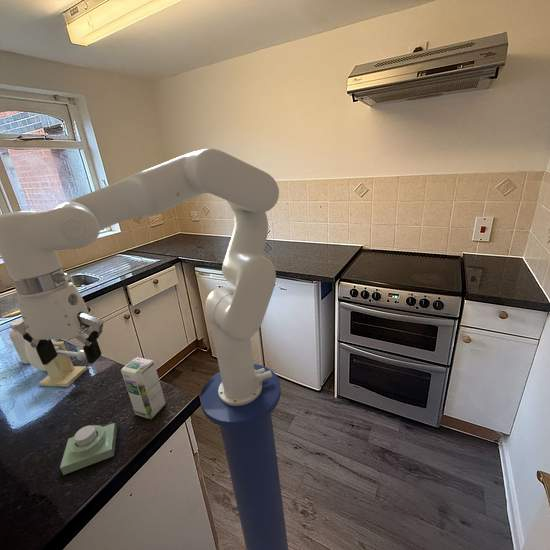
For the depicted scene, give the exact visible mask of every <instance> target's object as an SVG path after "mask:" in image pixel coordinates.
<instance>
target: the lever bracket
mask: <svg viewBox="0 0 550 550" xmlns="http://www.w3.org/2000/svg"><path fill="white" fill-rule="evenodd" d="M52 343H53V345H54V346H58V347H59V348H60V350H65V351H68V349H67V346H66V345H65V342H64V341H53V342H52ZM44 366H45V368H46V370H47V371H46V372H47V375H46V376H45V377H44V378H43V379H41V380H40V381H39V382H38V384H39V386H41V387H63V388H64V387H68V388H69V387H70V386H71V385H73V383H74V382H75V381H76V380H77V379H78V378H80V377H81V375H83V374H84V373H85V372H86V371H87V370H88V368H87V366H82V365H81V366H79V365H78V366H77V365H76V366H75V365H74V363H73V361H72V359H71V356H66V355H57V357H55V358H54V359H53V360H52V361H51V362H49V363H48V364H47V365H44Z"/></svg>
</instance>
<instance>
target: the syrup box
mask: <svg viewBox="0 0 550 550" xmlns="http://www.w3.org/2000/svg"><path fill="white" fill-rule="evenodd" d="M120 372H121V375H122V378H123V381H124V384H125V387H126V391H127V393H128V397H129V399H130V402H131V406H132V408H133V411H134V415H136V416H139V417H142V418H145V419H149V420H153V418H154V417H155V416H156V415H158V413H160V411H161V410H162V409H163V407H165V405H166V404H167V403H166V400H165V395H164V393H163V389H162V386H161V381H160V379H159V373H158V372H157V368H156V363H155V361H154V359H149V358H145V357H139V356H137V357H135V358H133V359H132V360H130V361H129V362H128V363H127V364H125V366H123V367H122V368H121V369H120Z"/></svg>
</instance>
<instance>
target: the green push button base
mask: <svg viewBox="0 0 550 550" xmlns="http://www.w3.org/2000/svg"><path fill="white" fill-rule="evenodd" d="M92 426H94V428H95V430H96V433H97V437H96V439H95V440H94V441H93V442H92V443H90V444H89V445H86V446H84V447H79V446H78V445H77V443H76V441H75V439H74V436H71V437H69V438H68V439H67V442H66V446H65V448H64V452H63V455H62V456H63V457H62V458H61V463H60V466H59V469H60V472H61V474H62V475H63V476H65V475H67V474H70V473H72V472H75V471H78V470H81V469H83V468H86V467H88V466H92V465H95V464H97V463H99V462H101V461H105V460H107V459H110V458H112V457H114V456H115V452H116V443H117V435H118V434H117V433H118V427H117V425H116V423H115V422H112V423H110V424H107V425H104V426H102V425H97V424H94V425H92Z"/></svg>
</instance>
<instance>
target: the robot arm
mask: <svg viewBox="0 0 550 550" xmlns="http://www.w3.org/2000/svg"><path fill="white" fill-rule="evenodd" d="M203 194H211V195H213V196H215V197H218V198H221V199H223V200H225V201H227V203H228V205H229V206H230V208H231V210H232V213H233V217H234V227H233V230H232V235H231V238H230V241H229V243H228V247H227V250H226V254H225V256H224V258H223V261H222V265H221V272H222V276H223V277H224V279H225V280H226V281H227V282H228V283H230V284H231V285H233V286H234V287H235V289H234V288H232V287H229V286H220V287H217V288H215V289H213V290H212V291H210V293H209V294H208V296H207V297H206V299H205V304H204V305H205V307H204V308H205V309H204V310H205V314H206V318H207V322H208V325H209V327H210V331H211V334H212V339H213V344H214V348H215V353H216V358H217V364H218V369H219V372H220V374H221V379H222V383H221V384H220V386H219V389H218V394H219V397H220V399H221V400H222V401H223V402H224V403H226V404H228V405H232V406H240V405H245V404H248V403H250V402H252V401H253V400H255V399H256V398H257V397H258V396H259V395H260V393H261V391H262V380H264V379H268V378H271V377H272V373H271V371H267V372H265V370H264V368H262V369H259V370H255V369H254V364H255V362H254V357H253V356H254V355H253V349H252V342H251V341H252V340H251V338H252V337H254V336H255V335H256V333H257V332H258V331H259V330H260V327H261V326H262V323H263V321H264V319H265V316H266V312H267V310H268V307H269V305H270V301H271V299H272V296H273V292H274V290H275V286H276V281H277V272H276V268H275V265H274V263H273V262H272V261H271V260H270V259H269V258H268V257H266V256H264V255H263V253H264V249H265V246H266V241H267V239H268V235H269V219H268V215H267V212H269V211H270V210H272V209H273V208H274V207H275V206H276V205H277V203H278V201H279V197H280V189H279V185H278V182H277V180H275V178H274V177H273V176H272V175H271V174H269V173H268V172H266V171H264V170H262V169H260V168H258V167H256V166H254V165H252V164H250V163H247V162H246V161H244V160H242V159H239V158H237V157H236V156H233V155H231V154H229V153H227V152H225V151H222V150H220V149H216V148H211V147H209V148H201V149H198V150H193V151H190V152H188V153H185V154H183V155H180V156H176V157H174V158H172V159H169V160H167V161H165V162H162V163H159V164H157V165H154V166H152V167H149V168H146V169H144V170H141V171H138V172H136V173H133V174H131V175H129V176H126V177H124V178H122V179H121V180H119V181H116V182H114V183H112V184H109V185H106V186H104V187H102V188H99V189H97V190H93V191H92V192H87V193H86V194H84V195H81V196H78V197H76V198H73V199H71V200H68V201H66V202H63V203H61V204H59V205H58V206H56V207H55V208H52V209H49V210H45V211H37V210H21V211H12V212H7V213H1V214H0V256H1V259H2V261H3V263H4V266H5V268H6V270H7V273H8V275H9V278H10V280H11V281H12V283H13V286H14V288H15V291H16V300H17V305H18V308H19V312H20V315H21V318H23V322H22V323H20V324H19V325H17V326H16V327H15V329H16V330H17V331H18V332H19V333H20V334H21V335H23V338H24V339H25V340H27V341H28V342H30V343H31V347H33V348H36V351H37V353H38V355H39V357H40V360H41V362H42V364H43V365H47V364H48V363H49V362H51V361H52V360H53V359H54V358H55V357H57V352H56V350H55V347H54V345H53V343H52V341H51V339H52V340H69V339H76V340H77V341H79V342H80V343H82V344H83V346H82V350H84V352H85V355H86V358H87V359H86V360H87V363H89V364H90V365H91V364H94V363H95V362H96V361H97V360H98V359H99V358H100V357H101V356H102V350H101V348H100V344H99V342H98V339H99V338H100V336H101V334H102V333H103V328H104V324H105V323H104V321H103V319H101V318H98V317H95V316H92V315H91V314H90V311H89V310H88V309H89V308H88V307H87V305H86V302H85V300H84V298H83V297H82V295H81V293H80V291H79V290H78V288H77V287H76V285H75V284H74V282H69V281H70V279H71V275H70V273H66V272H65V269H64V266H63V264H62V261H61V258H60V255H59V252H58V251H65V250H78V249H83V248H87V247H89V246H91V245H93V244H94V243H95V242H96V241H97V239H98V237H99V235H100V231H102V230H105V229H107V228H109V227H112V226H114V225H117V224H119V223H122V222H124V221H128V220H131V219H132V220H133V219H135V218H145V217H152V216H155V215H159V214H161V213H164V212H166V211H168V210H170V209H172V208H174V207H176V206H179V205H181V204H183V203H186V202H188V201H190V200H193V199H195V198H197V197H199V196H201V195H203ZM85 334H86V335H87V336H88V337H87V336H86V335H85ZM262 373H263V374H262Z"/></svg>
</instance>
